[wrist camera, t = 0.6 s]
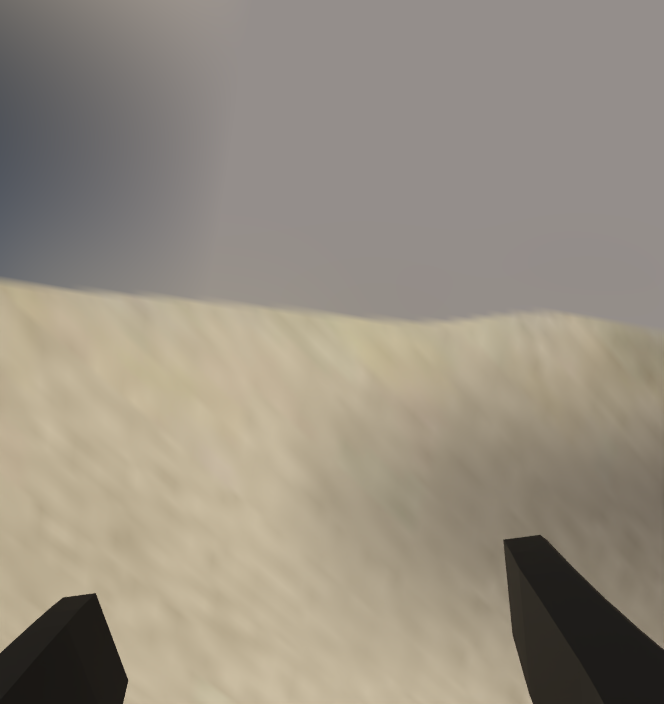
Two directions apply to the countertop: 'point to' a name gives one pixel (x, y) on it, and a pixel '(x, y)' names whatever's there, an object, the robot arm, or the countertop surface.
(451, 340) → the countertop surface
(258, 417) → the countertop surface
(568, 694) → the robot arm
